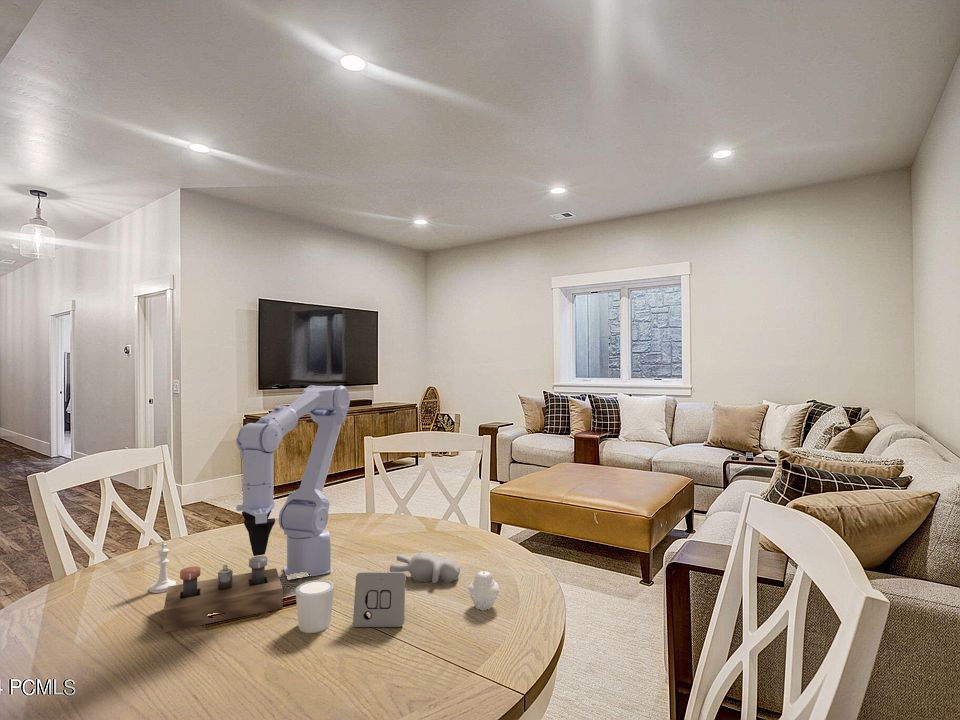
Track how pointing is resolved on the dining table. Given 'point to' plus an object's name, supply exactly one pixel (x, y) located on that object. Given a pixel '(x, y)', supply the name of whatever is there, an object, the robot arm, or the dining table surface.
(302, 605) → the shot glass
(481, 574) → the white owl figurine
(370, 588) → the electrical switch
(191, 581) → the knob red
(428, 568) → the bunny figurine
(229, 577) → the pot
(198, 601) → the mount
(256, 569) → the knob grey
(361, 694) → the dining table surface
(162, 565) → the chess piece
